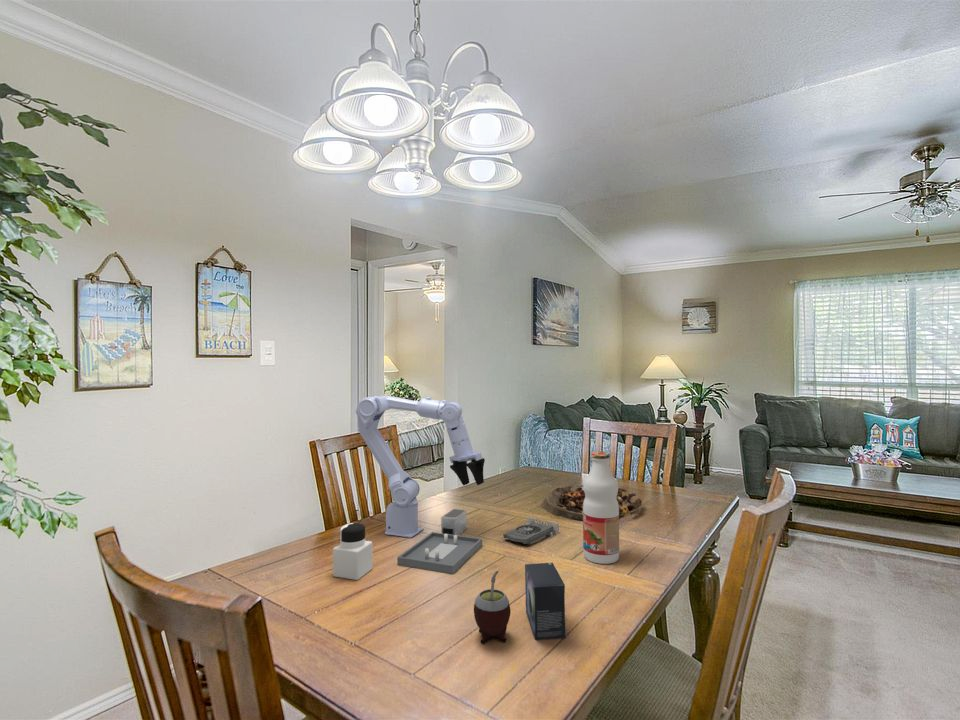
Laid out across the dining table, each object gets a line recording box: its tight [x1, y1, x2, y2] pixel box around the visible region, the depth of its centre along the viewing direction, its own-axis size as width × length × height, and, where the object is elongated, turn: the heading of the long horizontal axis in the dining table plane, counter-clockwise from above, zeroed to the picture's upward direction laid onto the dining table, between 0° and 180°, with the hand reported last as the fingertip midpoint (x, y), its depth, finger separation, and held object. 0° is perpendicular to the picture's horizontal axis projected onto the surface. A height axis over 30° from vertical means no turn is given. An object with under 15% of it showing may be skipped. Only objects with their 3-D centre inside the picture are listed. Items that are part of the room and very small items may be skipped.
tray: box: [396, 531, 483, 575], centre depth 136 cm, size 16×20×4 cm
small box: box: [524, 562, 567, 641], centre depth 100 cm, size 11×6×10 cm, turn 5°
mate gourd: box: [473, 570, 511, 645], centre depth 96 cm, size 8×8×15 cm
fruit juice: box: [582, 451, 620, 565], centre depth 133 cm, size 9×9×28 cm
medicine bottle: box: [332, 522, 373, 581], centre depth 125 cm, size 7×7×12 cm
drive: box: [440, 508, 468, 536], centre depth 154 cm, size 4×9×6 cm, turn 158°
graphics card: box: [502, 516, 560, 546], centre depth 150 cm, size 17×4×12 cm
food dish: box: [540, 485, 643, 521], centre depth 178 cm, size 35×33×8 cm
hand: (473, 484), depth 151 cm, fingers open, 7 cm apart
